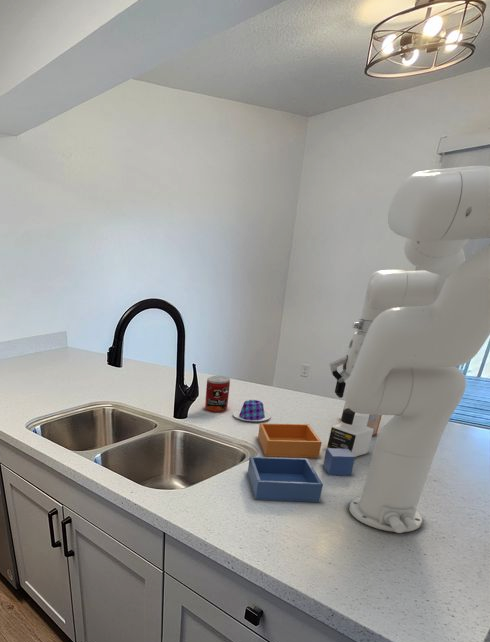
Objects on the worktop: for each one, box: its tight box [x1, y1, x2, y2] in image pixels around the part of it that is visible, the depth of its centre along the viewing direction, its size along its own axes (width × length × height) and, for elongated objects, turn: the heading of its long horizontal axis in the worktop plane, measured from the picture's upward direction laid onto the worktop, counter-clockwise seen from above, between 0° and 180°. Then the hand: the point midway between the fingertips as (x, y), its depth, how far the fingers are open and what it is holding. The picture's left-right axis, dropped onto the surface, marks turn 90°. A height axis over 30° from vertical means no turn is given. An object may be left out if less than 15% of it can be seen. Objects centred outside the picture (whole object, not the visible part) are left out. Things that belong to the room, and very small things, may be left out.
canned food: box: [204, 375, 231, 413], centre depth 152 cm, size 8×8×11 cm
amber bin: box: [257, 422, 322, 459], centre depth 122 cm, size 13×13×5 cm
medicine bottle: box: [326, 408, 374, 458], centre depth 116 cm, size 7×7×12 cm
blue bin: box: [247, 456, 324, 503], centre depth 102 cm, size 13×13×5 cm
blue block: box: [322, 447, 356, 476], centre depth 108 cm, size 5×5×5 cm
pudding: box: [232, 399, 272, 422], centre depth 145 cm, size 12×12×5 cm
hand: (359, 396), depth 112 cm, fingers open, 9 cm apart
